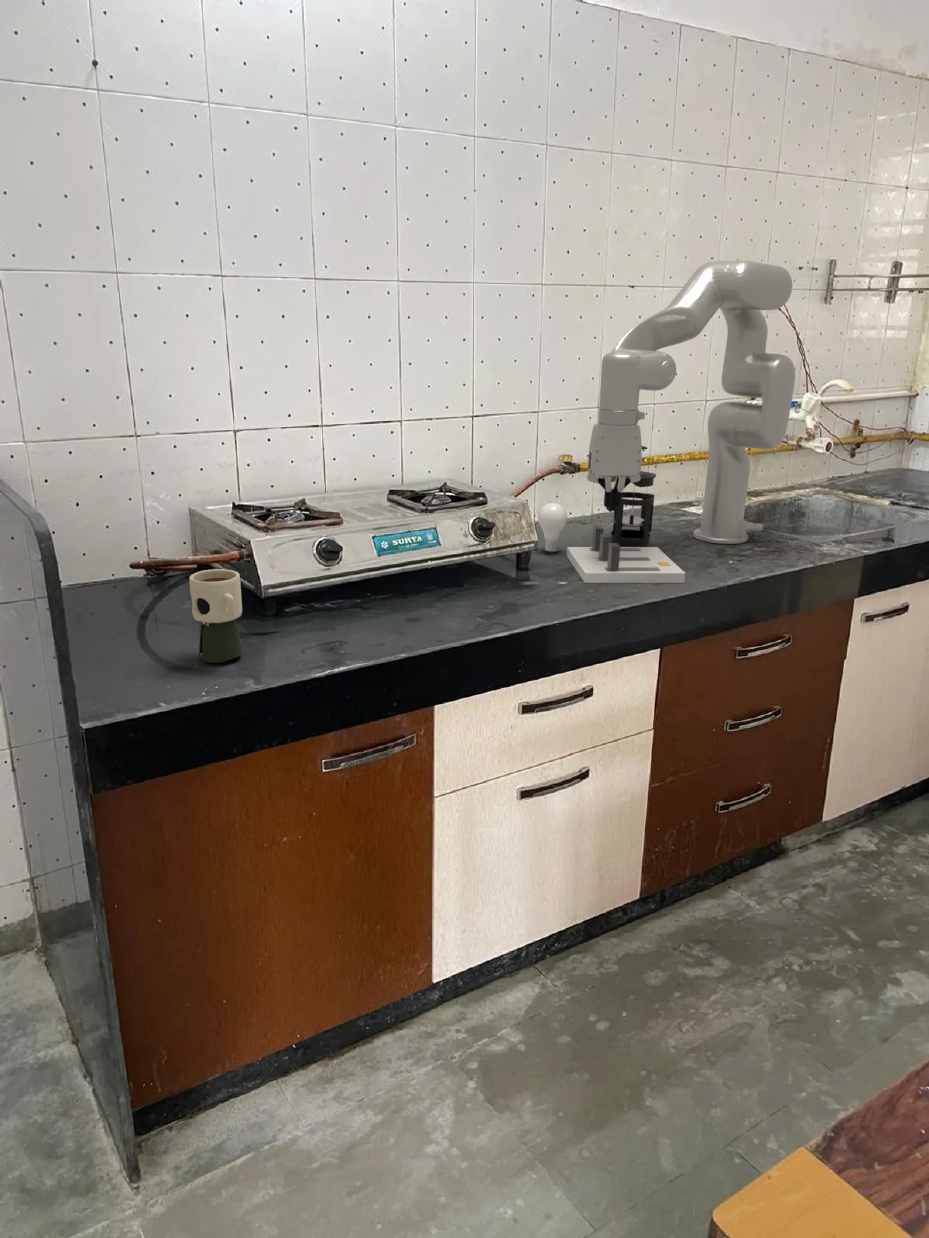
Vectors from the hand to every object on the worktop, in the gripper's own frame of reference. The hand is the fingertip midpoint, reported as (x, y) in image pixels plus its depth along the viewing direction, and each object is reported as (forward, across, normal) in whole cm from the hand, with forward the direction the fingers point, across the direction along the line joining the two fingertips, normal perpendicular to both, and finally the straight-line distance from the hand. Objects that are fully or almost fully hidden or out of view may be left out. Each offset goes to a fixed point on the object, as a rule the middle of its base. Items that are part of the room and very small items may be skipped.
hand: (611, 510), depth 177 cm
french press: (+13, -9, -17) cm, 23 cm away
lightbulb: (+13, +10, -13) cm, 20 cm away
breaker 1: (+10, +1, -7) cm, 12 cm away
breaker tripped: (+10, +1, 0) cm, 10 cm away
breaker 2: (+10, +1, +8) cm, 13 cm away
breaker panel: (+12, -3, 0) cm, 13 cm away
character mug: (+11, +70, +48) cm, 86 cm away
